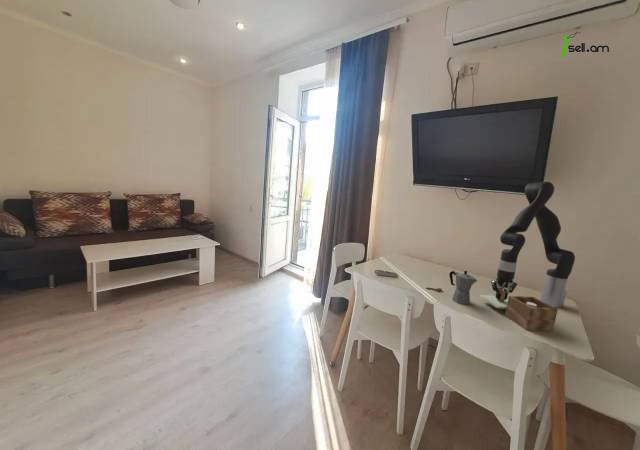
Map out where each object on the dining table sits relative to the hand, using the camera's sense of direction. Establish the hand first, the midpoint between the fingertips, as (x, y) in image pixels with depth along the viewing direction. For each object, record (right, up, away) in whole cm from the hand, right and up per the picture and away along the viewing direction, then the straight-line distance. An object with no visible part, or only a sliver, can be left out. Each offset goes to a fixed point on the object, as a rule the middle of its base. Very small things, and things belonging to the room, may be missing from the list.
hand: (500, 299), depth 140 cm
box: (+3, -7, -15) cm, 17 cm away
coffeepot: (-20, -3, +6) cm, 21 cm away
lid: (0, -2, 0) cm, 2 cm away
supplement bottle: (+3, -8, -15) cm, 17 cm away
